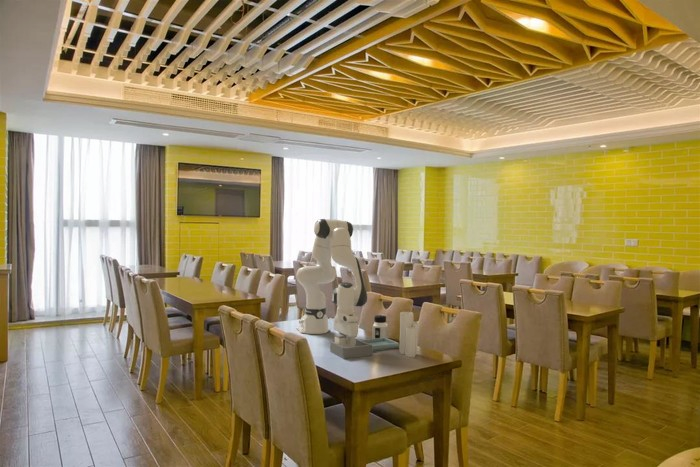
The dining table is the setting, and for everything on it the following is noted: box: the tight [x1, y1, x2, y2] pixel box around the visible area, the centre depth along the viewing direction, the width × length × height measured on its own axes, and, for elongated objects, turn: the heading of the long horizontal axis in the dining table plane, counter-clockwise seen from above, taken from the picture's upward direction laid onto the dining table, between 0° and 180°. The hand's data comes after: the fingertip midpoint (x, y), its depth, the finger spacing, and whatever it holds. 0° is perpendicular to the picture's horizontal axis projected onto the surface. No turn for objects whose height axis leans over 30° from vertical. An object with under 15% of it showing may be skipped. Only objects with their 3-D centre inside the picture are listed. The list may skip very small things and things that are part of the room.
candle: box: [398, 311, 419, 358], centre depth 244 cm, size 11×7×20 cm, turn 27°
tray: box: [360, 337, 400, 352], centre depth 257 cm, size 14×18×2 cm
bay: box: [329, 338, 373, 360], centre depth 243 cm, size 15×15×5 cm
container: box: [371, 314, 389, 339], centre depth 276 cm, size 8×8×13 cm
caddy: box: [334, 333, 356, 348], centre depth 248 cm, size 5×9×8 cm, turn 118°
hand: (344, 342), depth 248 cm, fingers closed on caddy, 5 cm apart
